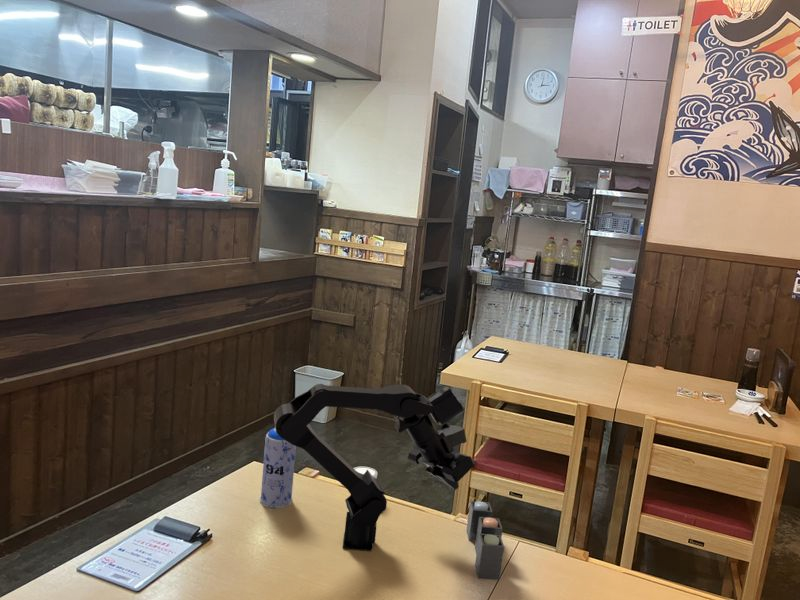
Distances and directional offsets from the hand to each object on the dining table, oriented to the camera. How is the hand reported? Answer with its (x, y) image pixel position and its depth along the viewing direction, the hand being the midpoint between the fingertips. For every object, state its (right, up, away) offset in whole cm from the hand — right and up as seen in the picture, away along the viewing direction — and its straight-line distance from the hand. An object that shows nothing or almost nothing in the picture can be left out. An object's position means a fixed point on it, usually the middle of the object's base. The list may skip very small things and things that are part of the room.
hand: (456, 488), depth 146 cm
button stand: (+6, -14, -3) cm, 15 cm away
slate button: (+6, -7, +4) cm, 10 cm away
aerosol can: (-44, -7, +11) cm, 45 cm away
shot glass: (-23, -8, +18) cm, 30 cm away
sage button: (+6, -10, -11) cm, 16 cm away
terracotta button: (+7, -9, -4) cm, 12 cm away
